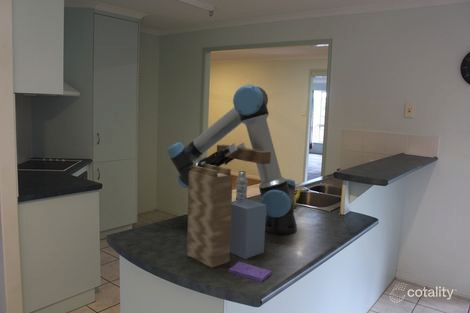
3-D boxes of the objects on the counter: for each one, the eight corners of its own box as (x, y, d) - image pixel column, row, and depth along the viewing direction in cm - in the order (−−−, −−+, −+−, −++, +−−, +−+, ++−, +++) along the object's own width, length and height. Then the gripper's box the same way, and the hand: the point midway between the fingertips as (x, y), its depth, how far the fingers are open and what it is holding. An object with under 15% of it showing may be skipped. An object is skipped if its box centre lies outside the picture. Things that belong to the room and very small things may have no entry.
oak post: (187, 255, 139) (188, 165, 134) (204, 249, 144) (206, 163, 140) (212, 267, 129) (215, 171, 124) (229, 261, 134) (232, 169, 130)
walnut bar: (216, 155, 149) (217, 145, 148) (224, 154, 152) (224, 144, 151) (262, 164, 132) (263, 152, 131) (270, 163, 135) (270, 152, 134)
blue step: (226, 250, 144) (228, 203, 142) (244, 244, 151) (246, 199, 149) (245, 259, 137) (247, 209, 135) (263, 252, 144) (266, 204, 142)
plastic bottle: (246, 210, 199) (247, 173, 197) (233, 209, 201) (234, 172, 198) (248, 207, 206) (249, 171, 203) (235, 206, 207) (237, 170, 204)
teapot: (289, 212, 200) (290, 190, 199) (267, 206, 209) (268, 185, 208) (302, 207, 211) (304, 186, 210) (280, 202, 220) (281, 182, 218)
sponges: (261, 284, 120) (261, 278, 120) (227, 273, 126) (228, 268, 126) (271, 275, 126) (271, 270, 125) (238, 266, 132) (239, 261, 132)
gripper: (222, 175, 163) (258, 154, 147) (190, 179, 151) (226, 157, 135) (217, 158, 165) (252, 136, 149) (185, 161, 153) (220, 137, 137)
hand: (240, 146), depth 142 cm, fingers closed on walnut bar, 4 cm apart
